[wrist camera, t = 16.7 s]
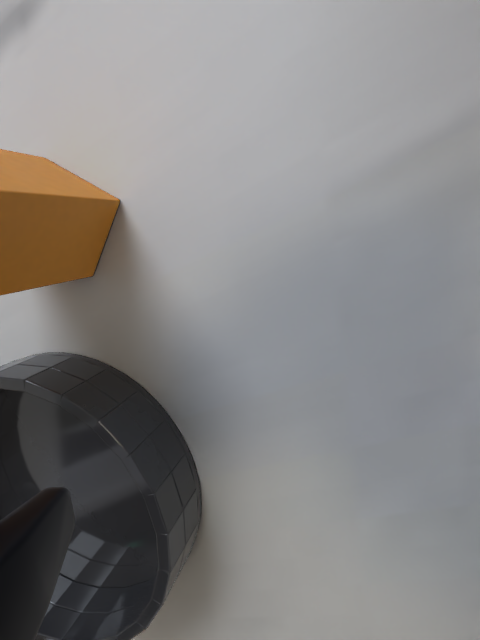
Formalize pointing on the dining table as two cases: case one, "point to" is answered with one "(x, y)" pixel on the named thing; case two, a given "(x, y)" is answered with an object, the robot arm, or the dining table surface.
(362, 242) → the dining table surface
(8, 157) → the cheese
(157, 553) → the pan
